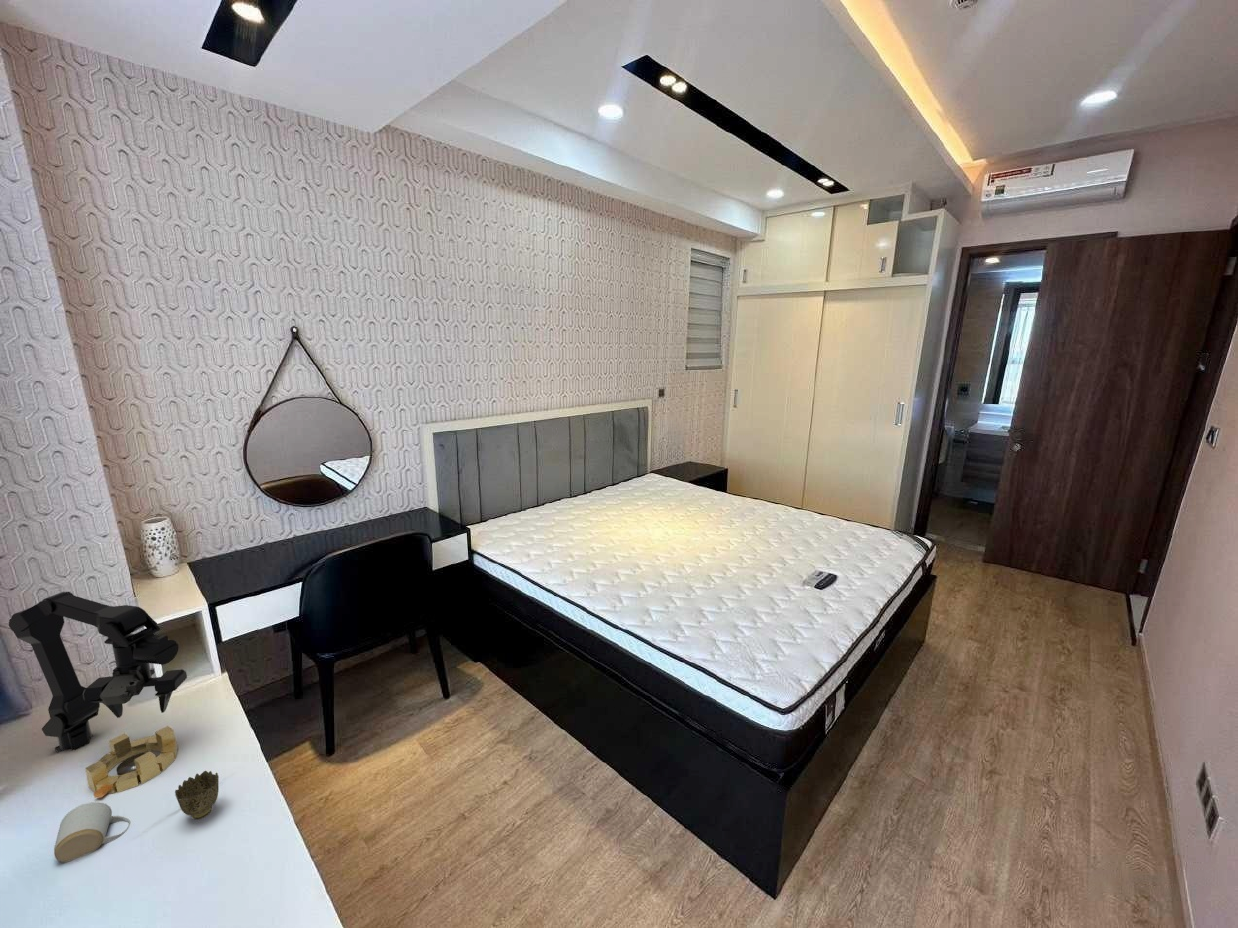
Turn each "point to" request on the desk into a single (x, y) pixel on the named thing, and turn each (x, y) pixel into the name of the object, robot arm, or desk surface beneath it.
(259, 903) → the desk surface
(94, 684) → the robot arm
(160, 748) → the ring nut
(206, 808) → the cup
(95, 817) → the ceramic mug
